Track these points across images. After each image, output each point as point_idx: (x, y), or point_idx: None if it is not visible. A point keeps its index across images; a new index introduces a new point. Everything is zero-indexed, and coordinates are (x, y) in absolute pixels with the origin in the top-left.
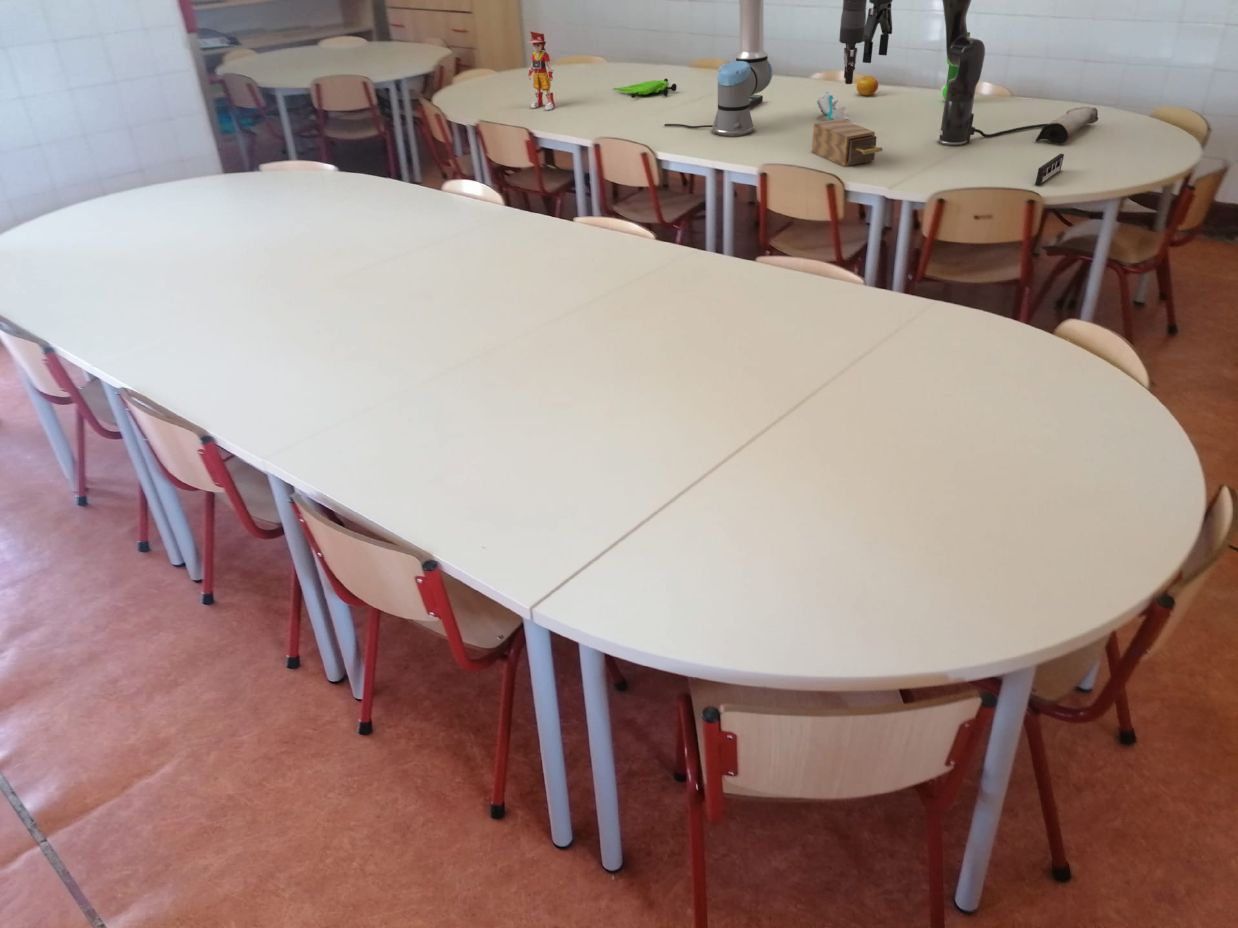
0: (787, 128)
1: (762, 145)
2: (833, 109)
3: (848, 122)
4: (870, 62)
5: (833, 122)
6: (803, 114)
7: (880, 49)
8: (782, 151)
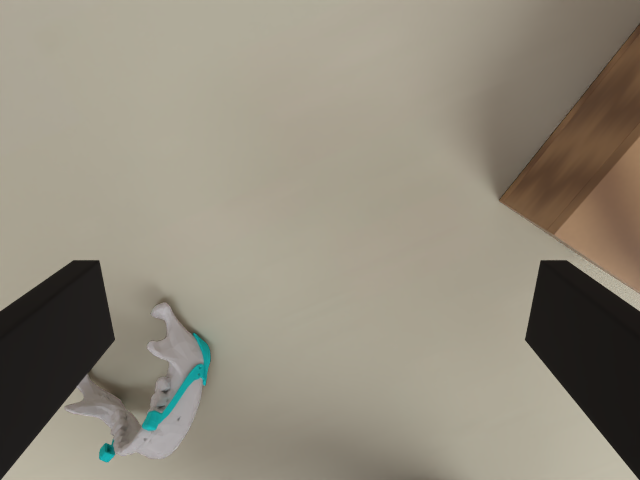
0: (333, 430)
1: (545, 414)
2: (166, 378)
3: (620, 170)
4: (558, 264)
5: (633, 235)
6: None
7: (77, 363)
8: None
